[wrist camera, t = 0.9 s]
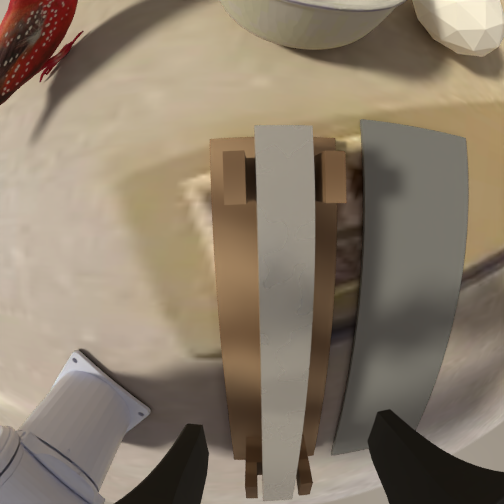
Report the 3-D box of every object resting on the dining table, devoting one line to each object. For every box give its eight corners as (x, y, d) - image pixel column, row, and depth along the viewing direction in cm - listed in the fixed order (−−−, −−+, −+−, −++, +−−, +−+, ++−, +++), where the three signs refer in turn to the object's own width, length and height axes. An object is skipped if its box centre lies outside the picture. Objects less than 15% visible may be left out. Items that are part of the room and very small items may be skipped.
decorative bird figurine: (134, 3, 13) (79, -73, 3) (-3, 174, 16) (-91, 181, 6) (117, -8, 13) (62, -75, 3) (-13, 155, 15) (-95, 156, 5)
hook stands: (311, 447, 21) (322, 499, 15) (234, 451, 21) (231, 505, 15) (330, 141, 16) (370, 117, 10) (212, 142, 16) (190, 115, 10)
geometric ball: (417, 22, 15) (458, -27, 8) (479, 83, 14) (529, 34, 7) (373, -4, 12) (422, -67, 5) (455, 66, 11) (520, -1, 4)
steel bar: (289, 478, 17) (292, 499, 15) (262, 480, 17) (263, 500, 15) (302, 136, 12) (312, 125, 10) (254, 136, 12) (254, 125, 10)
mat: (411, 434, 21) (412, 436, 21) (330, 453, 21) (331, 455, 21) (463, 138, 15) (465, 138, 15) (359, 120, 15) (361, 119, 15)
